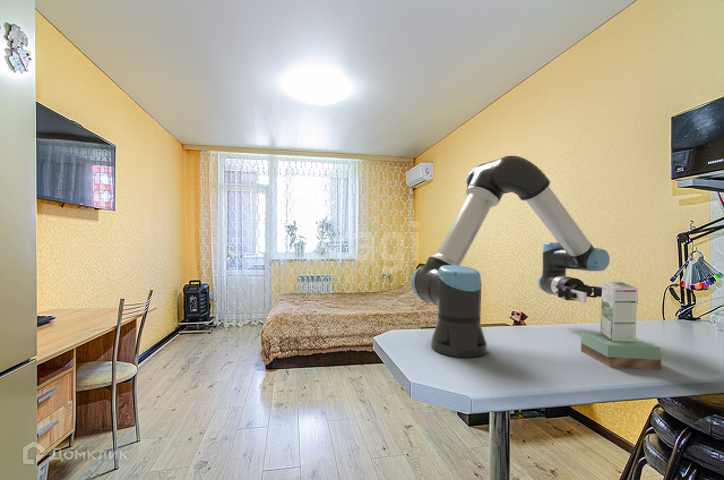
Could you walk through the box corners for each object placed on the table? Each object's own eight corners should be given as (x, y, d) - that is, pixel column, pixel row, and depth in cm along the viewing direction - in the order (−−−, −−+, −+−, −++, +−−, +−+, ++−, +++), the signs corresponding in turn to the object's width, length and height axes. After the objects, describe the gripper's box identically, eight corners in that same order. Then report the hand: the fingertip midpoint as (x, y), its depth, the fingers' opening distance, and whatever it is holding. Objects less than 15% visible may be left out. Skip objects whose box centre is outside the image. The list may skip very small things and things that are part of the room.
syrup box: (636, 342, 84) (639, 287, 82) (610, 341, 85) (613, 287, 83) (622, 333, 90) (625, 281, 88) (598, 332, 91) (601, 281, 89)
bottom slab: (609, 369, 82) (610, 357, 82) (580, 353, 94) (581, 342, 94) (660, 371, 81) (660, 359, 81) (625, 354, 93) (625, 344, 93)
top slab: (607, 357, 82) (608, 345, 82) (581, 342, 94) (581, 332, 94) (660, 359, 81) (660, 347, 81) (626, 344, 93) (626, 334, 93)
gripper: (606, 299, 112) (658, 313, 91) (530, 297, 114) (563, 310, 93) (606, 277, 112) (658, 286, 91) (530, 276, 114) (564, 283, 93)
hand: (610, 298), depth 92 cm, fingers open, 13 cm apart
